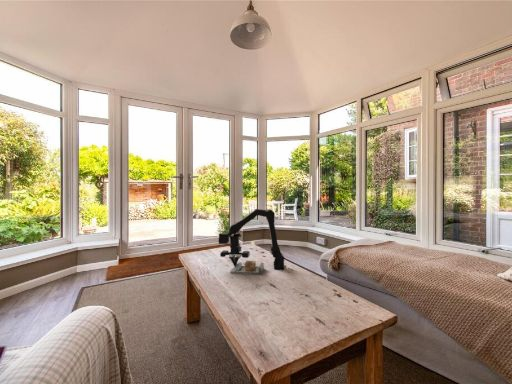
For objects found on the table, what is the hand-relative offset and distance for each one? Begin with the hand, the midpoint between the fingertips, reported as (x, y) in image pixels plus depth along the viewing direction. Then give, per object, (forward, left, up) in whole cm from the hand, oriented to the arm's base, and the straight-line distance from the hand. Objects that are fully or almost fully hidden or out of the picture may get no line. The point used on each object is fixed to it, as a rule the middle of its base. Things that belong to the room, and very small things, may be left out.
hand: (235, 266), depth 159 cm
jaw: (-2, 0, -1) cm, 3 cm away
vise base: (-8, 0, -2) cm, 8 cm away
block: (-10, 0, -1) cm, 10 cm away
